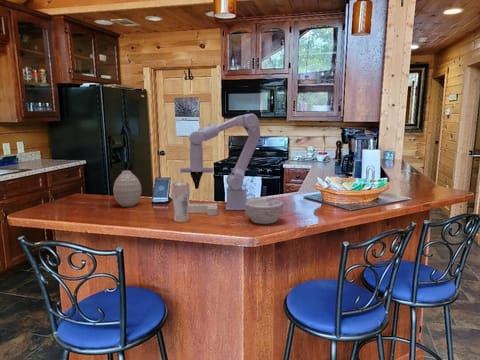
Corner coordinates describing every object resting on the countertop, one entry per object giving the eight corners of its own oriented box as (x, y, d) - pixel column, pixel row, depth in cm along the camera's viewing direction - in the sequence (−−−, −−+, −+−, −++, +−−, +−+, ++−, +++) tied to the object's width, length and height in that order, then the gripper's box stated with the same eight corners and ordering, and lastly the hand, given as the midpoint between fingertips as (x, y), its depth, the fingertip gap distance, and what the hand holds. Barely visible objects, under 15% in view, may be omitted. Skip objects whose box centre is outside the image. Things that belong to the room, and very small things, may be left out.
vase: (143, 207, 174) (142, 172, 171) (114, 209, 169) (113, 173, 166) (140, 201, 185) (138, 168, 183) (113, 203, 181) (111, 169, 178)
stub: (217, 212, 163) (217, 205, 163) (216, 215, 158) (216, 208, 158) (208, 212, 163) (208, 205, 162) (207, 215, 158) (207, 208, 158)
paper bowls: (237, 221, 150) (237, 202, 148) (262, 214, 160) (262, 196, 159) (265, 229, 139) (265, 208, 138) (290, 221, 149) (291, 202, 148)
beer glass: (182, 216, 156) (181, 181, 154) (193, 219, 152) (192, 183, 149) (169, 220, 151) (168, 184, 148) (180, 223, 146) (179, 185, 144)
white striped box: (217, 209, 169) (217, 202, 169) (216, 212, 163) (216, 205, 163) (188, 209, 169) (188, 202, 169) (186, 212, 163) (186, 205, 163)
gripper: (213, 157, 169) (213, 186, 171) (181, 157, 169) (182, 186, 171) (212, 159, 162) (212, 189, 164) (179, 159, 162) (179, 189, 164)
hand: (196, 188), depth 167 cm, fingers closed
